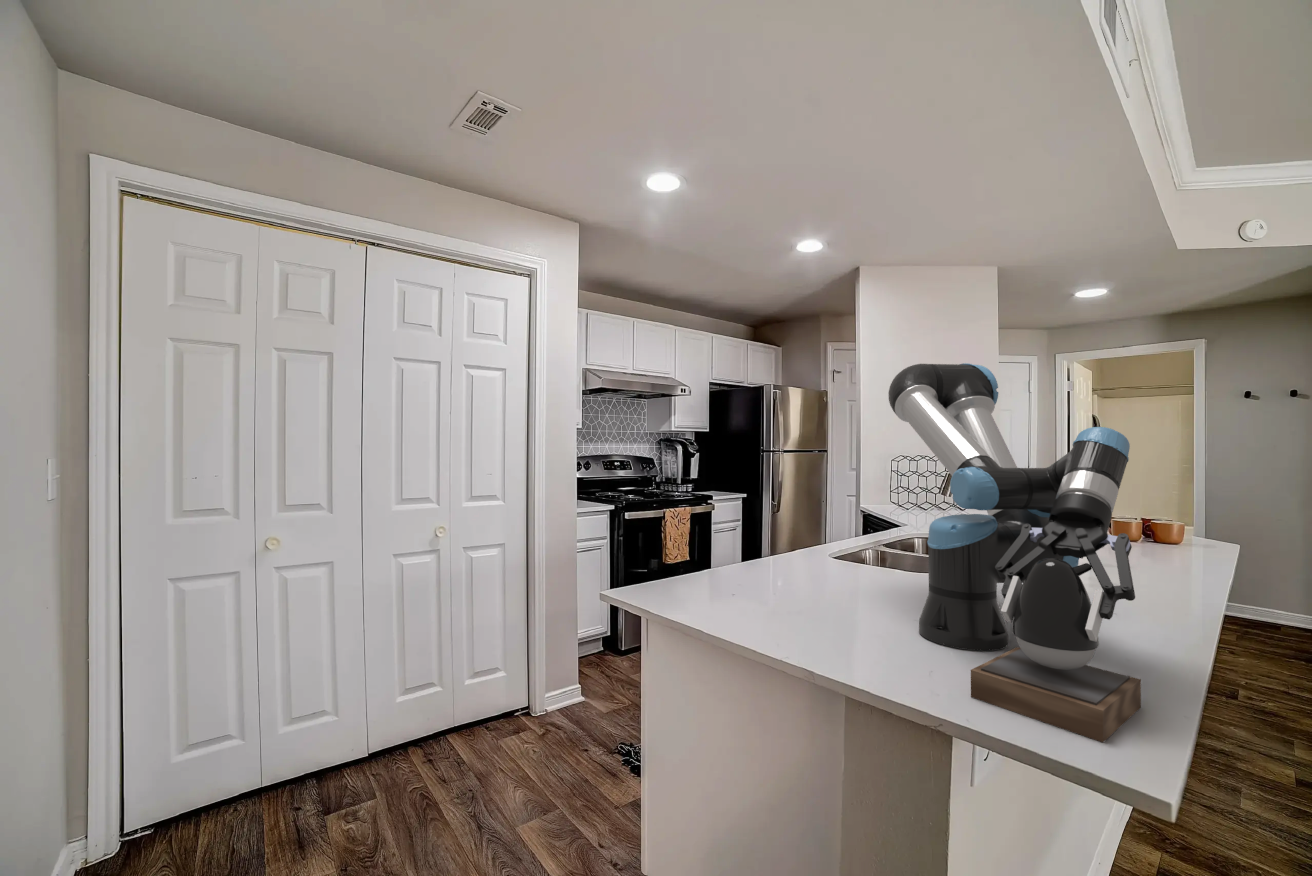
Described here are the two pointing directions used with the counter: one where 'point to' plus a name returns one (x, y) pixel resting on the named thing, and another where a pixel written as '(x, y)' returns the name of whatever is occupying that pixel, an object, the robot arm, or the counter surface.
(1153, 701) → the counter surface
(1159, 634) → the counter surface
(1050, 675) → the walnut riser
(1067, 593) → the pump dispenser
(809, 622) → the counter surface
